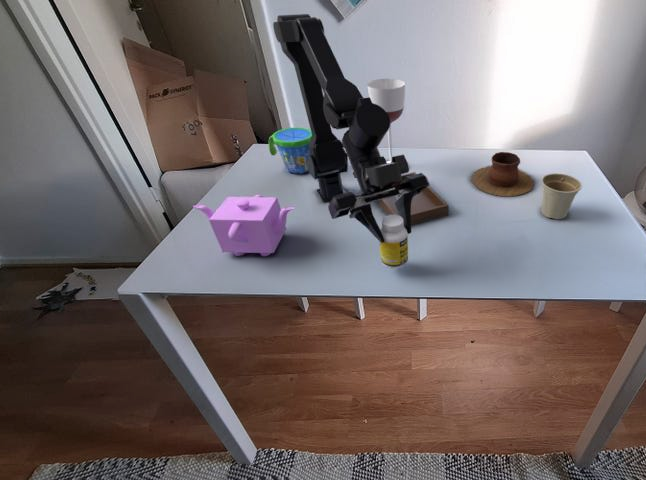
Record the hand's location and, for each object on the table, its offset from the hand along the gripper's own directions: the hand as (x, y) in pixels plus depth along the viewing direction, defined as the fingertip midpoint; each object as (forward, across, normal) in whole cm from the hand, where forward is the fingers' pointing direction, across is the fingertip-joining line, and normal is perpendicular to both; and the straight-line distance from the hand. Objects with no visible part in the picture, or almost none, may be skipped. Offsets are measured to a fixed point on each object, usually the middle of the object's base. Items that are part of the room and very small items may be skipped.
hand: (396, 237), depth 73 cm
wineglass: (-24, +21, +37) cm, 49 cm away
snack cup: (-32, -2, +46) cm, 56 cm away
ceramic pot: (-8, +44, +21) cm, 49 cm away
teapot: (-10, -22, +24) cm, 34 cm away
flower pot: (+6, +44, +6) cm, 45 cm away
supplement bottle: (+4, 0, +6) cm, 7 cm away
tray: (-10, +15, +23) cm, 29 cm away
